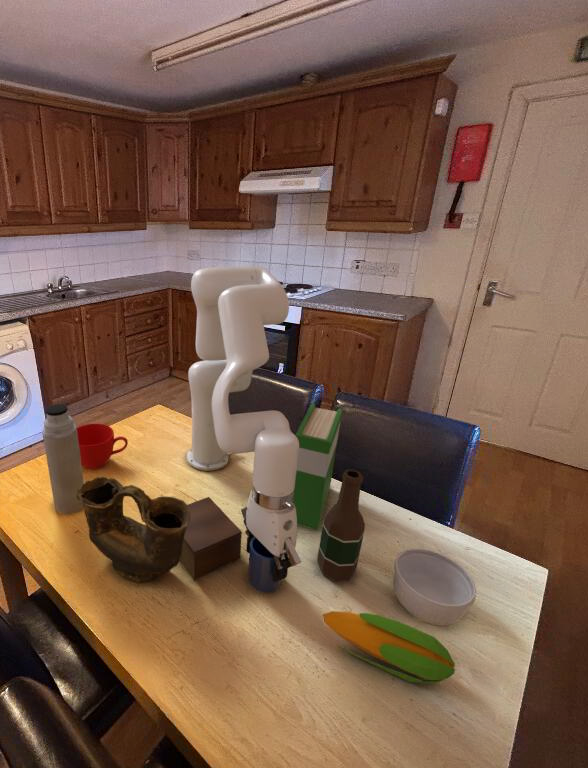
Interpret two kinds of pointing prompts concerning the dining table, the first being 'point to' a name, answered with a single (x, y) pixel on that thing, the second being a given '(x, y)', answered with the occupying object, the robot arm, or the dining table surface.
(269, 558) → the cup
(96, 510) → the pottery vessel
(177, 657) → the dining table surface
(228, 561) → the box
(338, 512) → the beer bottle
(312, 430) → the hardback book
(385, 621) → the corn
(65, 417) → the thermos bottle
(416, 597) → the ramekin
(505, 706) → the dining table surface
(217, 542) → the box lid
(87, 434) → the ceramic cup
